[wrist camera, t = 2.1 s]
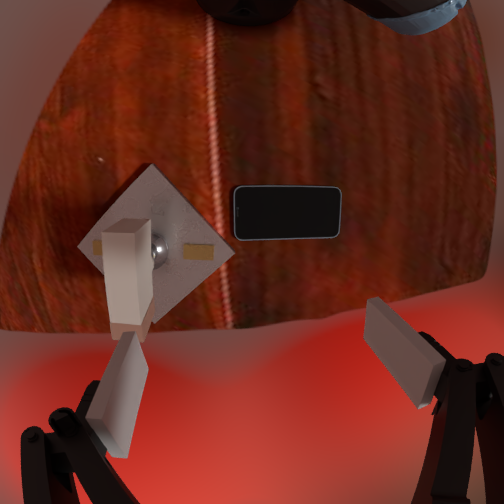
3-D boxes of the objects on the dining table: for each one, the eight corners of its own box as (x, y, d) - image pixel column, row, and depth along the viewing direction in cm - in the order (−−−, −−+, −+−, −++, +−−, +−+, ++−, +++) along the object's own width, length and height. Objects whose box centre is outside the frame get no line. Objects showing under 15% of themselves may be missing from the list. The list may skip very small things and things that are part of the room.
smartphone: (339, 238, 41) (234, 241, 40) (336, 236, 42) (234, 239, 40) (341, 186, 39) (233, 185, 37) (339, 186, 40) (233, 185, 38)
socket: (81, 243, 38) (61, 257, 31) (154, 163, 36) (142, 163, 30) (156, 318, 42) (148, 342, 36) (234, 250, 40) (237, 265, 34)
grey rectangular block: (126, 215, 31) (100, 232, 23) (154, 216, 31) (135, 233, 24) (131, 304, 34) (112, 339, 26) (157, 305, 34) (143, 342, 27)
